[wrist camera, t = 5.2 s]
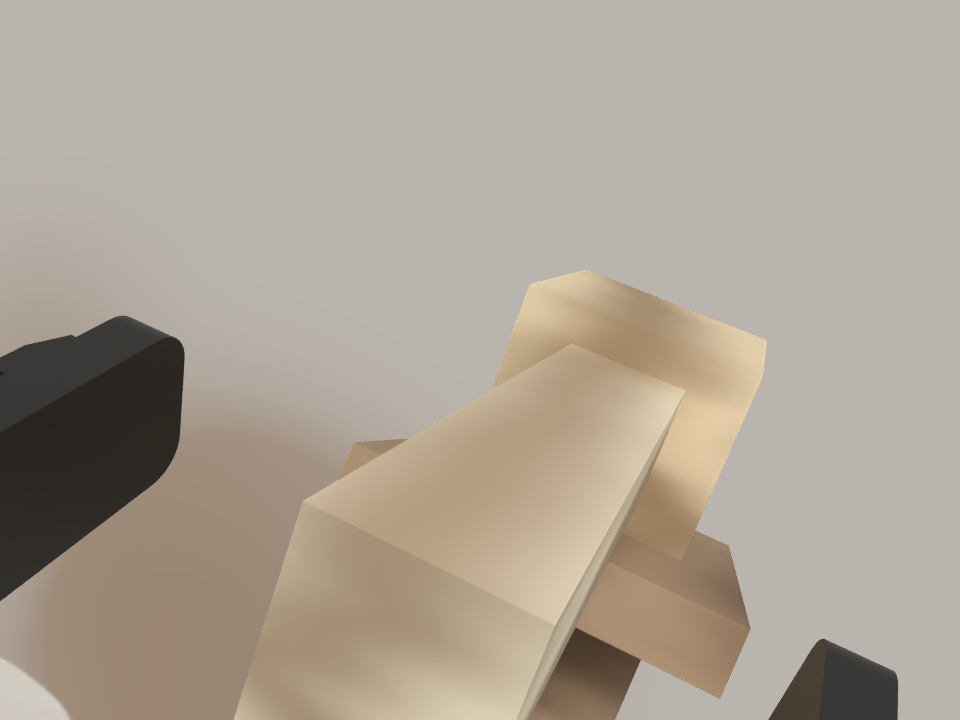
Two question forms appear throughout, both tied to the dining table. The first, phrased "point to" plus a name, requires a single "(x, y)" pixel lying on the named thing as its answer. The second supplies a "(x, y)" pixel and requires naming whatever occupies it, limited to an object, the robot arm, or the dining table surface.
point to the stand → (639, 621)
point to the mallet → (504, 514)
